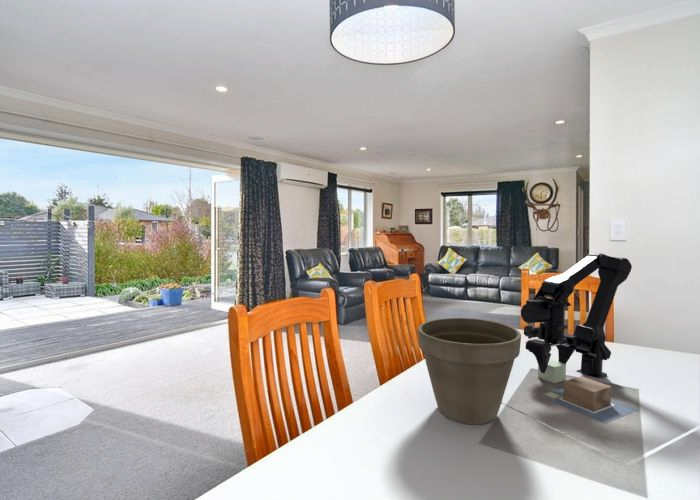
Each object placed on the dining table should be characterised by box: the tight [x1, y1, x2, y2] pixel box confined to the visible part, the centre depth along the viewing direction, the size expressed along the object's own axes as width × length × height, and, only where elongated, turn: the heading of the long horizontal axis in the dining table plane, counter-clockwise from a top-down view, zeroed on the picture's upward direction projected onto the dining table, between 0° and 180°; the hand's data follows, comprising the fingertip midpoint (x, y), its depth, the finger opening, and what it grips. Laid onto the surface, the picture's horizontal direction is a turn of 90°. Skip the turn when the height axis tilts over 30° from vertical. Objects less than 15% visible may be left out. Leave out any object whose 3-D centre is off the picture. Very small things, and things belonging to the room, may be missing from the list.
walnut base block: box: [563, 376, 612, 411], centre depth 106 cm, size 8×8×5 cm
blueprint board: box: [538, 386, 639, 424], centre depth 107 cm, size 15×18×1 cm
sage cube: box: [537, 358, 567, 384], centre depth 123 cm, size 6×6×6 cm
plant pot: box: [417, 317, 522, 425], centre depth 101 cm, size 25×25×22 cm
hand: (552, 370), depth 123 cm, fingers open, 9 cm apart
